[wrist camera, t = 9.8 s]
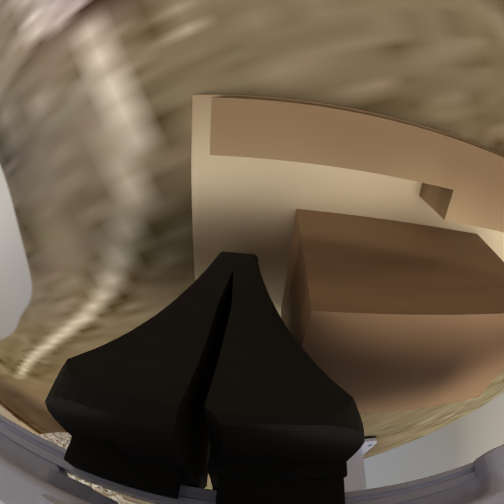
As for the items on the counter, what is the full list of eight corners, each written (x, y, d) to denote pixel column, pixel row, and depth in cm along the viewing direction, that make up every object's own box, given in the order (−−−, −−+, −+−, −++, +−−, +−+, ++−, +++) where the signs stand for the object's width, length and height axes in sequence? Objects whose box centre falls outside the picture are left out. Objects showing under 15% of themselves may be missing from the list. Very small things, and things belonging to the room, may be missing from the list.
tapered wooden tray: (495, 344, 15) (511, 375, 12) (203, 342, 15) (192, 387, 13) (570, 189, 9) (602, 213, 6) (200, 93, 9) (172, 97, 7)
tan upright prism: (440, 314, 12) (478, 396, 8) (281, 308, 12) (281, 414, 8) (477, 233, 10) (543, 310, 6) (296, 208, 10) (311, 310, 6)
